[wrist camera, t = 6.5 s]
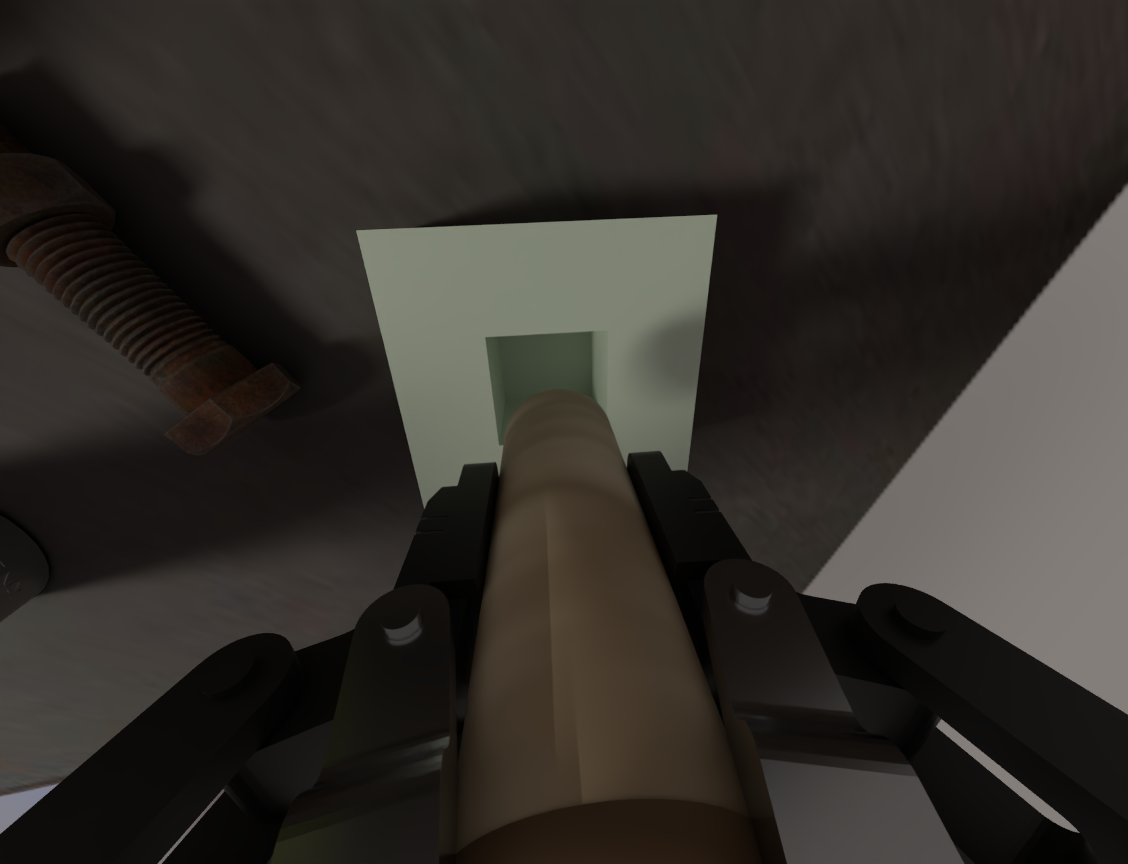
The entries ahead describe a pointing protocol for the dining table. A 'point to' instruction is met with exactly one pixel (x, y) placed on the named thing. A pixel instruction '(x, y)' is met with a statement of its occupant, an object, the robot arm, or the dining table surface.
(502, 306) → the socket block
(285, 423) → the dining table surface
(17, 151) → the bolt
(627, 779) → the peg
